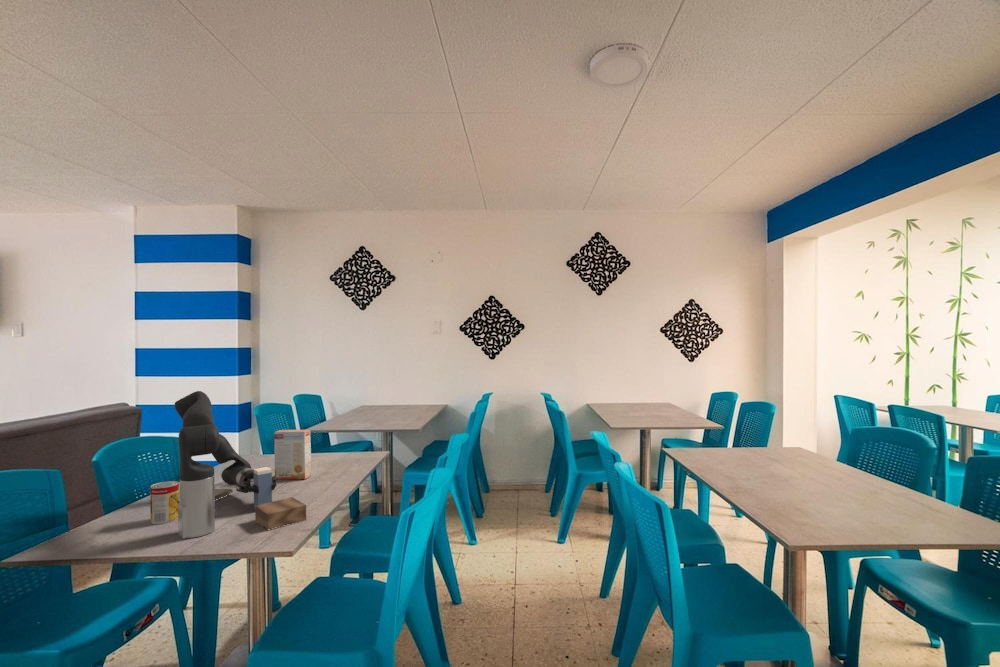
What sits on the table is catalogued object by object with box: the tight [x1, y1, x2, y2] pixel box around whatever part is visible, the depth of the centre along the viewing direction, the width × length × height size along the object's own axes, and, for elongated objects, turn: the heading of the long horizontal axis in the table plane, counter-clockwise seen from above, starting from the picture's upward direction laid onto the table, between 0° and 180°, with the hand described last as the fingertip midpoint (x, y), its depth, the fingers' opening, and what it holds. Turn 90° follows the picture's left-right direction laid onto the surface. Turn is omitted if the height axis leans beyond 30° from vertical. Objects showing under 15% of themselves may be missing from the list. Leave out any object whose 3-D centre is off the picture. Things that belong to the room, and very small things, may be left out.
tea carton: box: [253, 466, 273, 509], centre depth 171 cm, size 5×5×14 cm
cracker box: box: [273, 429, 312, 480], centre depth 210 cm, size 14×6×21 cm, turn 84°
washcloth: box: [179, 488, 234, 503], centre depth 182 cm, size 12×18×3 cm, turn 169°
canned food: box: [149, 480, 180, 525], centre depth 162 cm, size 8×8×12 cm
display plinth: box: [254, 497, 307, 530], centre depth 159 cm, size 12×12×5 cm
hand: (265, 488), depth 169 cm, fingers closed on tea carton, 4 cm apart
